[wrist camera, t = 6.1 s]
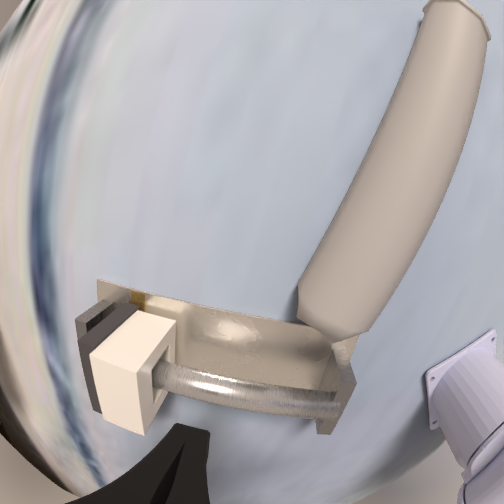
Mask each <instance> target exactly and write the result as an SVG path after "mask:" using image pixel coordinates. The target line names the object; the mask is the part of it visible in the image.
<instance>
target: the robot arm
mask: <svg viewBox="0 0 504 504" xmlns="http://www.w3.org/2000/svg"><path fill="white" fill-rule="evenodd" d="M495 352H496V331H495V330H494V329H491V330H490V331H489V332H487V333H486V334H484V335H483V336H482V337H480V338H479V339H477V340H476V341H474V342H473V343H472V344H470V345H469V346H467V347H466V348H464V349H462V350H461V351H459V352H458V353H456V354H455V355H453V356H451V357H450V358H448V359H446V360H445V361H443V362H441V363H440V364H438V365H436V366H434V367H433V368H431V369H429V370H428V371H427V372H426V374H425V377H426V386H427V396H428V408H429V425H430V429H431V430H435V429H437V428H438V427H440V428H441V430H442V432H443V434H444V436H445V438H446V440H447V442H448V444H449V446H450V448H451V450H452V452H453V454H454V456H455V459H456V461H457V462H458V464H459V465H460V466H461V467H463V468H465V471H464V472H463V473H462V474H461V475H462V477H463V480H464V483H463V485H462V486H461V488H460V490H459V493H458V499H457V500H458V501H457V504H504V365H503V364H502V363H501V362H500V361H499V360H498V359H497V358H496V357H495ZM430 378H431V379H430ZM209 439H210V432H208V431H207V430H203V429H198V428H194V427H190V426H187V425H183V424H179V423H176V424H174V426H173V427H172V428H171V430H170V431H169V432H168V433H167V435H166V436H165V437H164V438H163V439H162V440H161V441H160V442H159V444H158V445H157V446H156V447H155V448H154V449H153V450H152V451H151V452H150V453H149V454H148V455H146V456H145V457H144V458H143V459H142V460H141V461H140V462H139V463H137V464H136V465H135V466H134V467H133V468H131V469H130V470H129V471H128V472H126V473H125V474H123V475H122V476H121V477H119V478H118V479H116V480H115V481H113V482H111V483H110V484H108V485H106V486H105V487H103V488H101V489H99V490H97V491H95V492H93V493H91V494H89V495H87V496H84V497H82V498H79V499H77V500H74V501H71V502H68V503H65V504H210V501H209V494H208V487H207V475H206V463H207V458H208V451H209Z"/></svg>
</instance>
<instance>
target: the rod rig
mask: <svg viewBox="0 0 504 504" xmlns="http://www.w3.org/2000/svg"><path fill="white" fill-rule="evenodd" d="M97 295H98V303H97V304H96V305H94V306H93V307H91V308H90V309H88V310H87V311H86V312H84V313H83V314H81V315H80V316H78V317H77V318H76V319H75V324H76V331H77V337H78V340H79V339H80V338H81V337H82V336H84V335H85V334H86V333H87V332H89V331H90V330H91V329H92V328H93V327H95V326H96V325H97V324H98V323H100V322H101V321H102V320H103V319H105V318H106V317H107V316H108V315H110V314H111V313H112V312H113V311H115V310H116V309H117V308H118V307H120V306H121V305H122V304H124V303H125V302H127V303H131V304H134V305H138V306H139V311H142V312H146V313H149V314H153V315H157V316H161V317H164V318H168V319H172V320H176V336H175V363H172V362H169V361H165V360H162V359H159V360H158V361H157V363H156V364H155V365H154V367H153V368H152V370H151V372H152V387H155V388H158V389H161V390H165V391H168V392H171V393H175V394H178V395H182V396H185V397H189V398H193V399H197V400H201V401H205V402H209V403H213V404H218V405H222V406H227V407H232V408H237V409H242V410H247V411H253V412H259V413H266V414H272V415H280V416H288V417H297V418H307V419H316V429H317V434H328V435H331V433H332V431H333V429H334V428H335V426H336V424H337V422H338V420H339V418H340V416H341V415H342V413H343V411H344V409H345V407H346V405H347V403H348V401H349V399H350V397H351V395H352V393H353V391H354V388H355V386H356V384H357V382H356V379H355V376H354V373H353V370H352V367H351V365H350V362H349V361H350V358H351V356H352V353H353V351H354V348H355V345H356V343H357V340H358V337H359V335H360V334H359V335H357V336H354V337H351V338H348V339H345V340H342V341H339V342H336V343H332V342H331V341H330V340H329V339H327V338H326V337H325V336H324V335H322V334H321V333H320V332H319V331H317V330H316V329H314V328H313V327H311V326H309V325H305V324H298V323H292V322H286V321H280V320H274V319H269V318H263V317H258V316H252V315H247V314H242V313H237V312H232V311H227V310H222V309H217V308H213V307H208V306H203V305H199V304H194V303H190V302H186V301H181V300H177V299H173V298H169V297H165V296H161V295H157V294H153V293H149V292H145V291H141V290H137V289H133V288H130V287H126V286H122V285H119V284H115V283H112V282H108V281H104V280H101V279H97Z"/></svg>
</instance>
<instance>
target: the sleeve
mask: <svg viewBox="0 0 504 504" xmlns="http://www.w3.org/2000/svg"><path fill="white" fill-rule="evenodd" d="M175 336H176V320H172V319H168V318H164V317H161V316H157V315H153V314H149V313H146V312H142V311H139V310H137V311H136V312H135V313H134V314H133V315H132V316H131V317H129V318H128V319H127V320H126V321H125V322H124V323H123V324H122V325H121V326H120V327H118V328H117V329H116V330H115V331H114V332H113V333H112V334H111V335H110V336H109V337H108V338H107V339H105V340H104V341H103V342H102V343H101V344H100V345H99V346H98V347H97V348H96V349H95V350H94V351H93V352H92V353H90V354H89V356H90V362H91V367H92V372H93V377H94V382H95V386H96V391H97V395H98V399H99V403H100V407H101V411H102V414H103V418H104V420H106V421H109V422H111V423H113V424H115V425H118V426H120V427H123V428H125V429H127V430H130V431H133V432H135V433H138V434H140V435H143V436H145V434H146V432H147V430H148V429H149V427H150V425H151V423H152V421H153V419H154V417H155V416H156V414H157V412H158V410H159V408H160V406H161V405H162V403H163V401H164V399H165V397H166V395H167V394H168V391H165V390H161V389H158V388H155V387H152V372H151V370H152V368H153V367H154V365H155V364H156V363H157V361H158V360H159V359H162V360H165V361H169V362H172V363H175Z"/></svg>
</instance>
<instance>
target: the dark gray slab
mask: <svg viewBox="0 0 504 504" xmlns="http://www.w3.org/2000/svg"><path fill="white" fill-rule="evenodd" d="M137 310H139V306H138V305H134V304H131V303H127V302H125V303H124V304H122V305H121V306H120V307H118V308H117V309H116V310H115V311H113V312H112V313H111V314H110V315H108V316H107V317H106V318H105V319H103V320H102V321H101V322H100V323H98V324H97V325H96V326H95V327H93V328H92V329H91V330H90V331H89V332H87V333H86V334H85V335H84V336H82V337H81V338H80V339H79V340H78V346H79V352H80V357H81V362H82V367H83V372H84V376H85V380H86V384H87V388H88V392H89V396H90V400H91V404H92V407H93V410H94V411H96V412H99V413H101V414H102V411H101V407H100V403H99V399H98V395H97V391H96V386H95V382H94V377H93V372H92V367H91V362H90V356H89V354H90V353H92V352H93V351H94V350H95V349H96V348H97V347H98V346H99V345H100V344H101V343H102V342H103V341H104V340H105V339H107V338H108V337H109V336H110V335H111V334H112V333H113V332H114V331H115V330H116V329H117V328H118V327H120V326H121V325H122V324H123V323H124V322H125V321H126V320H127V319H128V318H129V317H131V316H132V315H133V314H134V313H135V312H136V311H137Z"/></svg>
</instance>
